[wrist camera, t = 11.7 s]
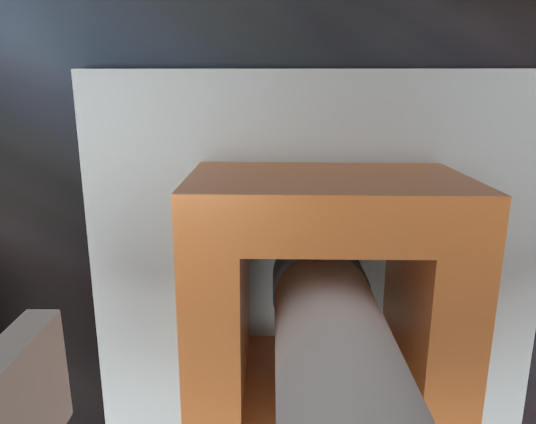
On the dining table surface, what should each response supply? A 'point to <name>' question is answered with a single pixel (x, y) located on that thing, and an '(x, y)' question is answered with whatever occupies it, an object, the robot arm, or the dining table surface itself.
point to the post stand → (295, 270)
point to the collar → (336, 248)
